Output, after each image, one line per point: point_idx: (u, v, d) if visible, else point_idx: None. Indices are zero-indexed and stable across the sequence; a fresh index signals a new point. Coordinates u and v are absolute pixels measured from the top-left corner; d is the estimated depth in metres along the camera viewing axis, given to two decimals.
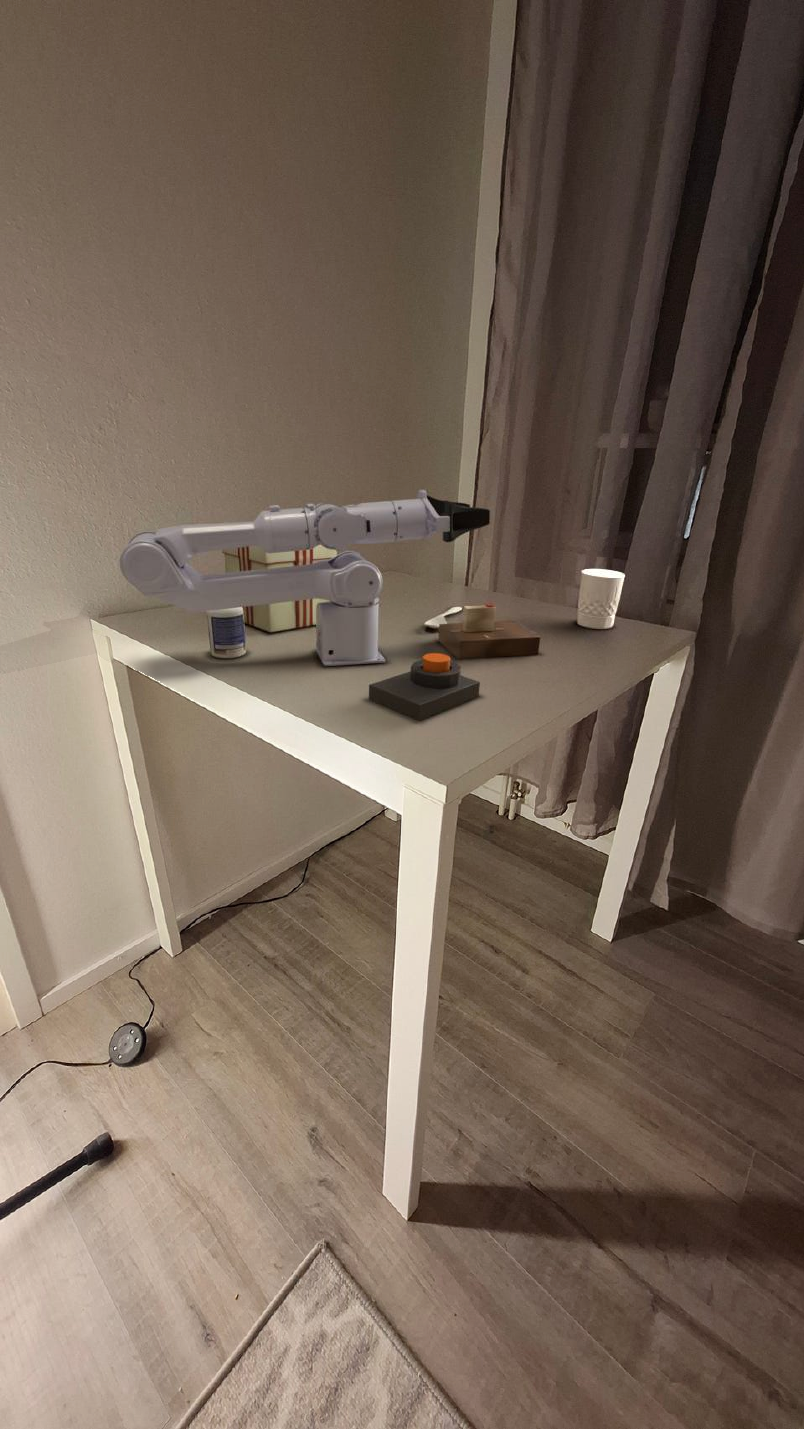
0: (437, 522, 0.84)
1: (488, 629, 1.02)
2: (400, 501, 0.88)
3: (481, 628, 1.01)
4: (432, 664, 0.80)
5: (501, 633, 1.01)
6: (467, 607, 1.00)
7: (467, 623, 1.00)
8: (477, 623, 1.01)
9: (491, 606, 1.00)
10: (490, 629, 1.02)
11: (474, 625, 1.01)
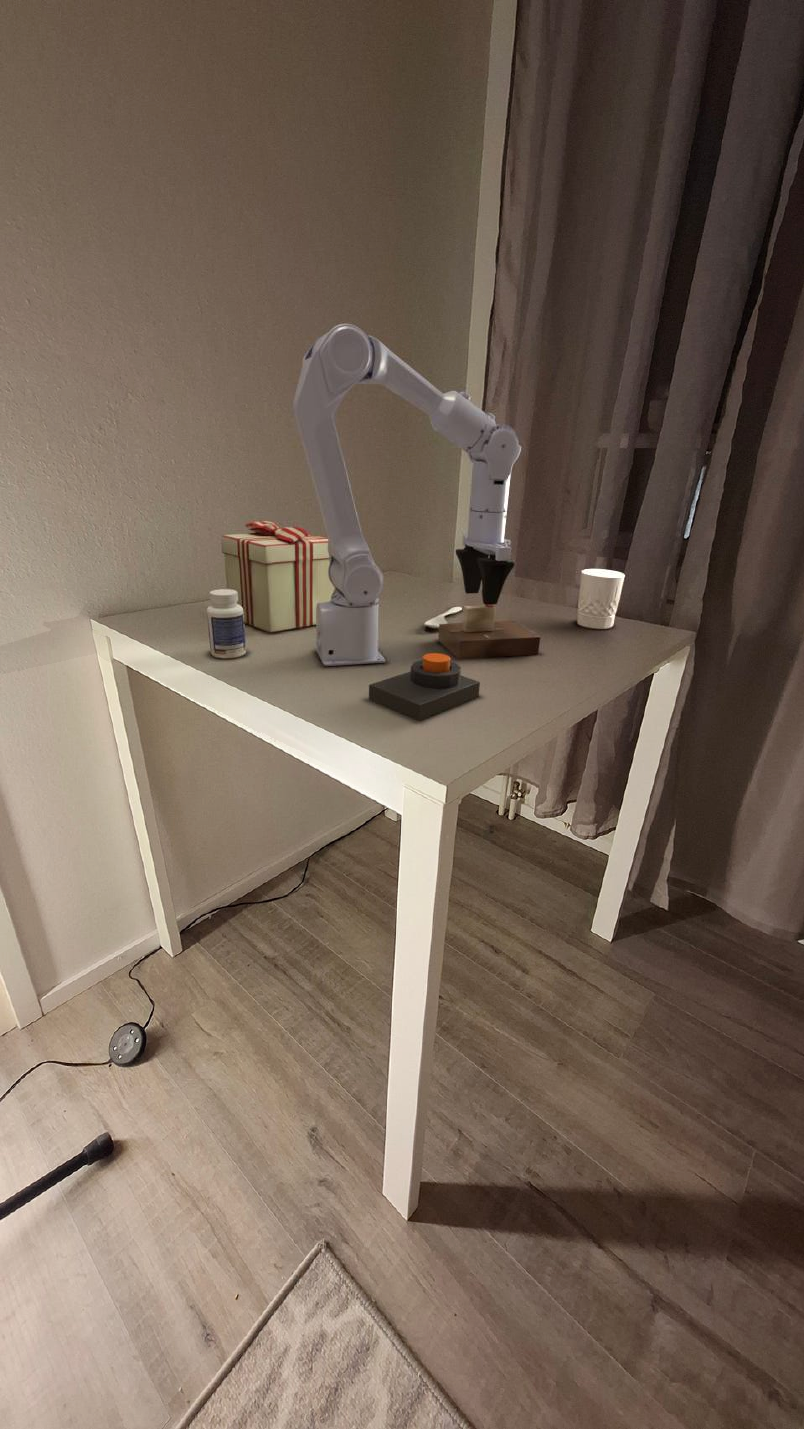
0: (507, 548, 0.90)
1: (488, 629, 1.02)
2: None
3: (481, 628, 1.01)
4: (432, 664, 0.80)
5: (501, 633, 1.01)
6: (467, 607, 1.00)
7: (467, 623, 1.00)
8: (477, 623, 1.01)
9: (491, 606, 1.00)
10: (490, 629, 1.02)
11: (474, 625, 1.01)
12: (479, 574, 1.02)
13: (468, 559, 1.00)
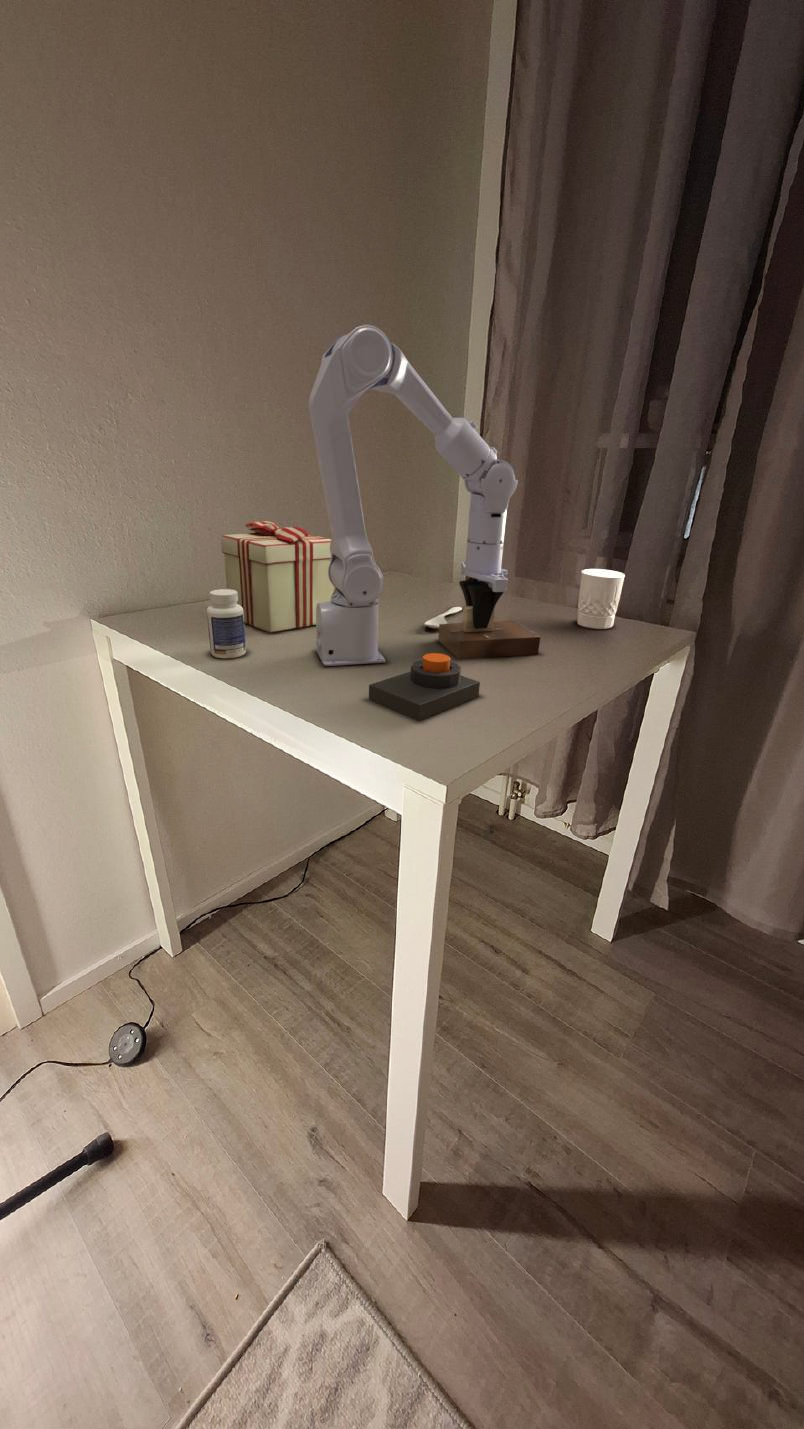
0: (503, 579, 0.92)
1: (488, 629, 1.02)
2: None
3: (481, 628, 1.01)
4: (432, 664, 0.80)
5: (501, 633, 1.01)
6: (467, 607, 1.00)
7: (467, 623, 1.00)
8: None
9: None
10: (490, 629, 1.02)
11: None
12: None
13: None
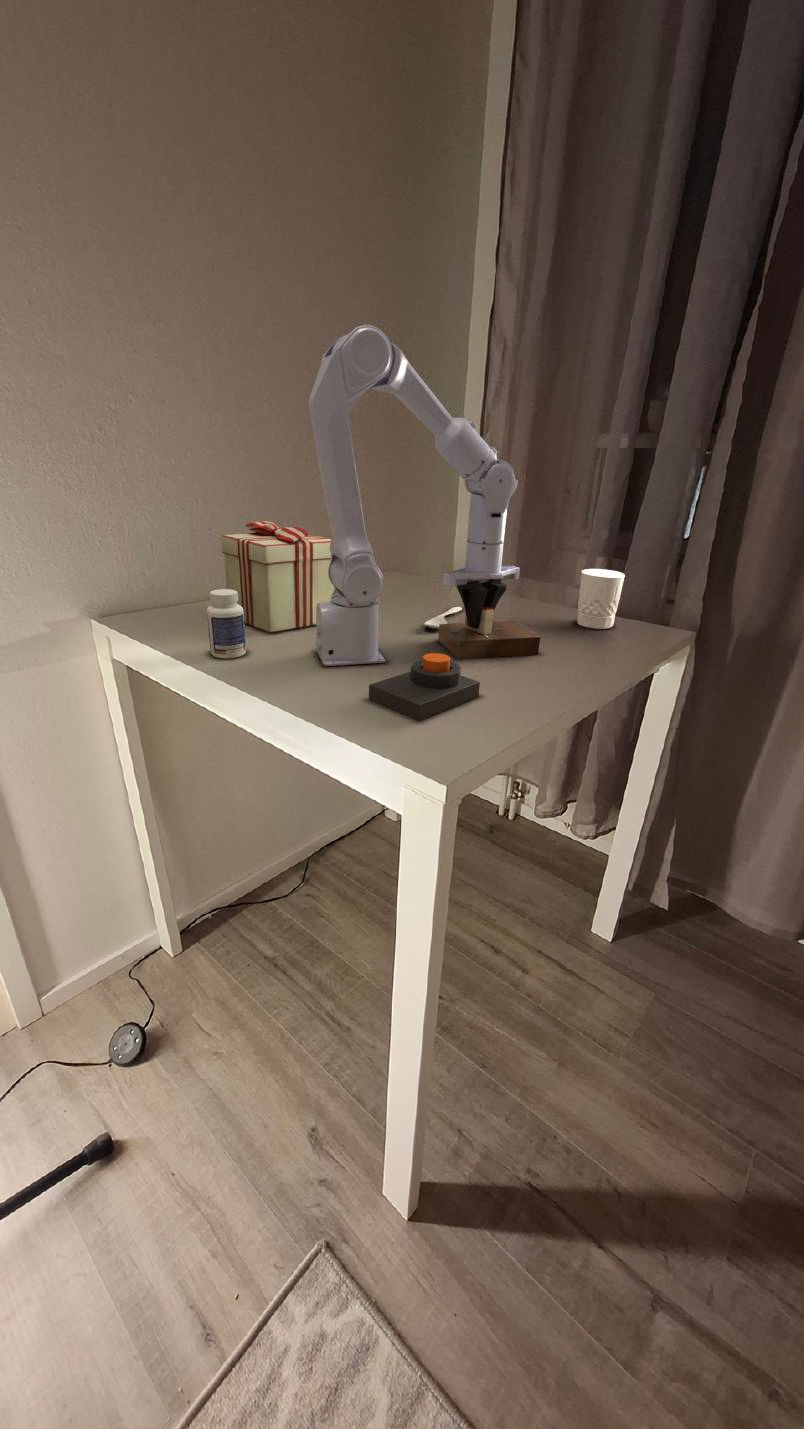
0: (448, 574, 0.94)
1: (480, 631, 1.00)
2: (493, 552, 0.94)
3: None
4: (432, 664, 0.80)
5: (501, 633, 1.01)
6: None
7: (466, 619, 1.03)
8: None
9: (484, 608, 0.99)
10: (482, 632, 1.00)
11: None
12: None
13: None
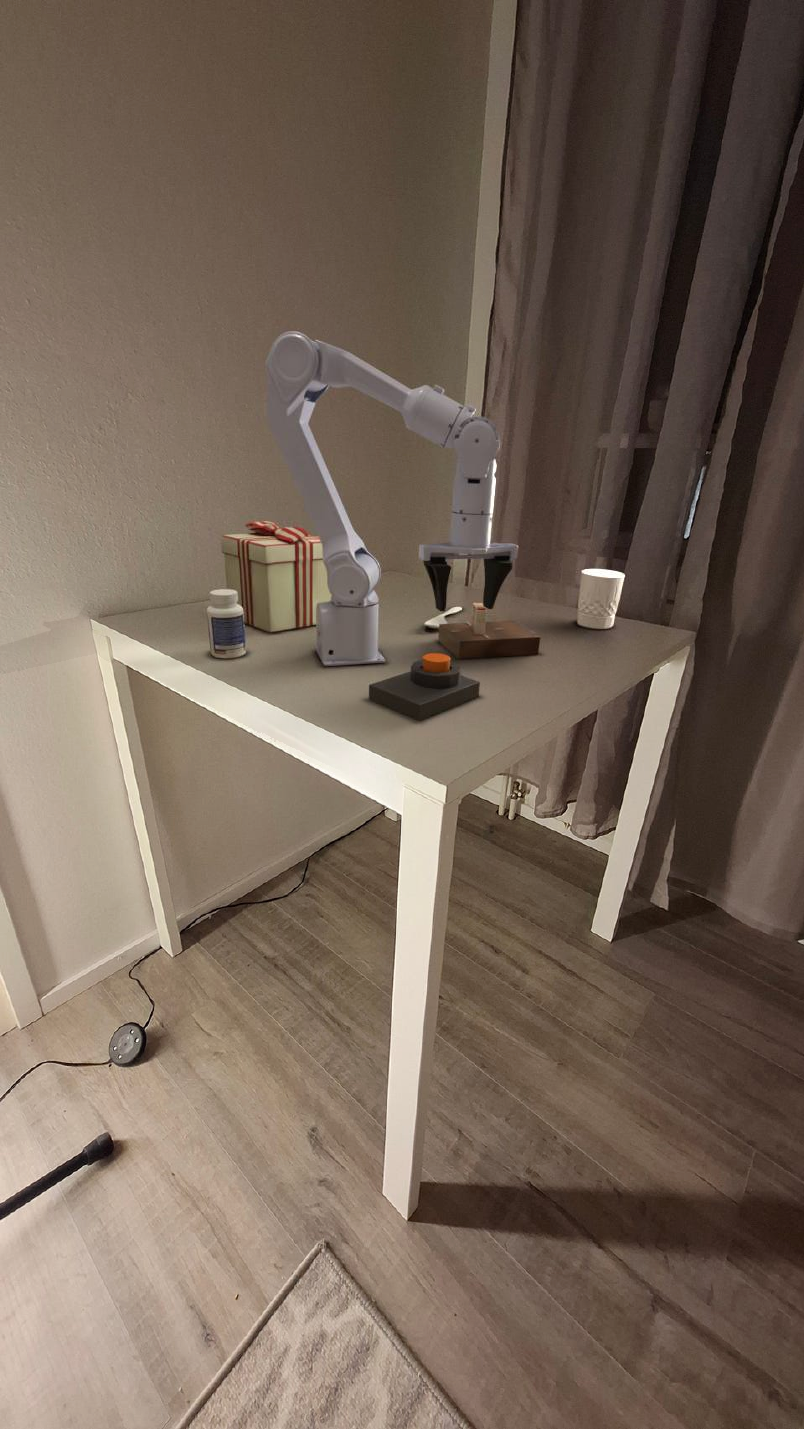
0: (422, 546, 0.85)
1: (474, 630, 1.00)
2: (475, 524, 0.83)
3: (473, 627, 1.01)
4: (432, 664, 0.80)
5: (501, 633, 1.01)
6: (477, 603, 1.02)
7: None
8: (473, 621, 1.02)
9: None
10: (474, 631, 1.00)
11: (472, 622, 1.02)
12: (492, 588, 0.90)
13: (487, 568, 0.91)
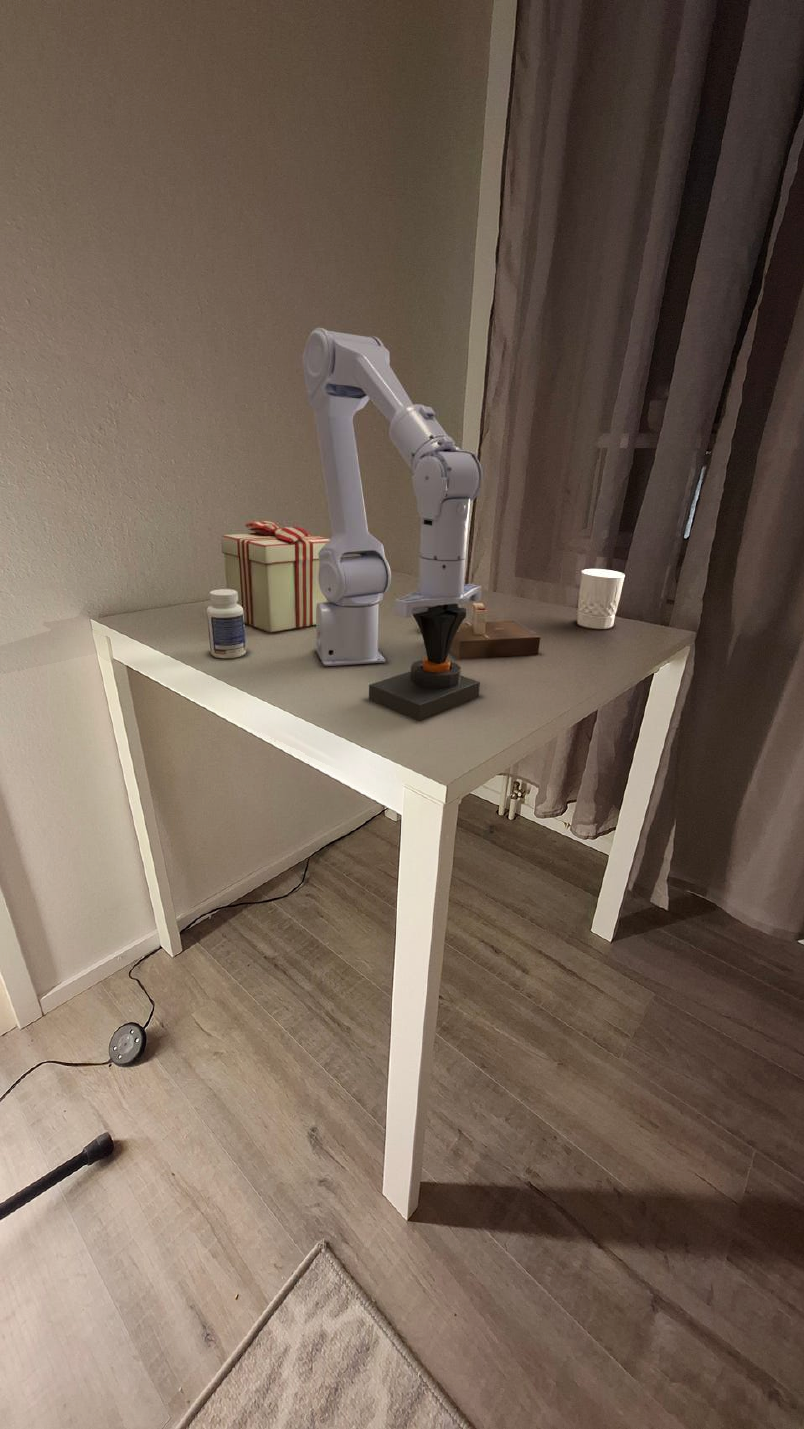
0: (403, 602, 0.73)
1: (474, 630, 1.00)
2: (456, 571, 0.74)
3: (473, 627, 1.01)
4: (432, 668, 0.80)
5: (501, 633, 1.01)
6: (477, 603, 1.02)
7: None
8: (473, 621, 1.02)
9: None
10: (474, 631, 1.00)
11: (472, 622, 1.02)
12: None
13: None
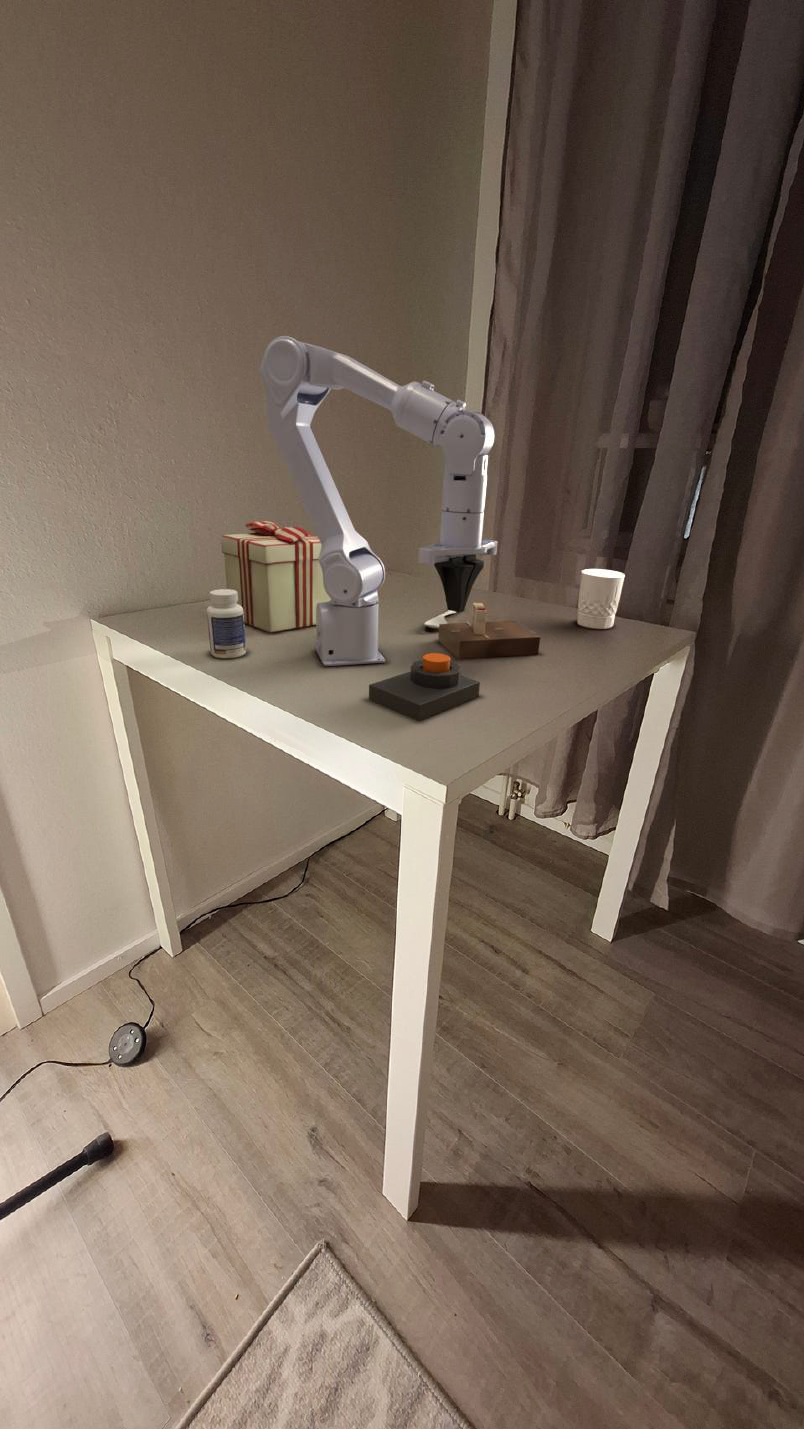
0: (426, 550, 0.79)
1: (474, 630, 1.00)
2: (475, 523, 0.81)
3: (473, 627, 1.01)
4: (432, 664, 0.80)
5: (501, 633, 1.01)
6: (477, 603, 1.02)
7: None
8: (473, 621, 1.02)
9: None
10: (474, 631, 1.00)
11: (472, 622, 1.02)
12: None
13: None
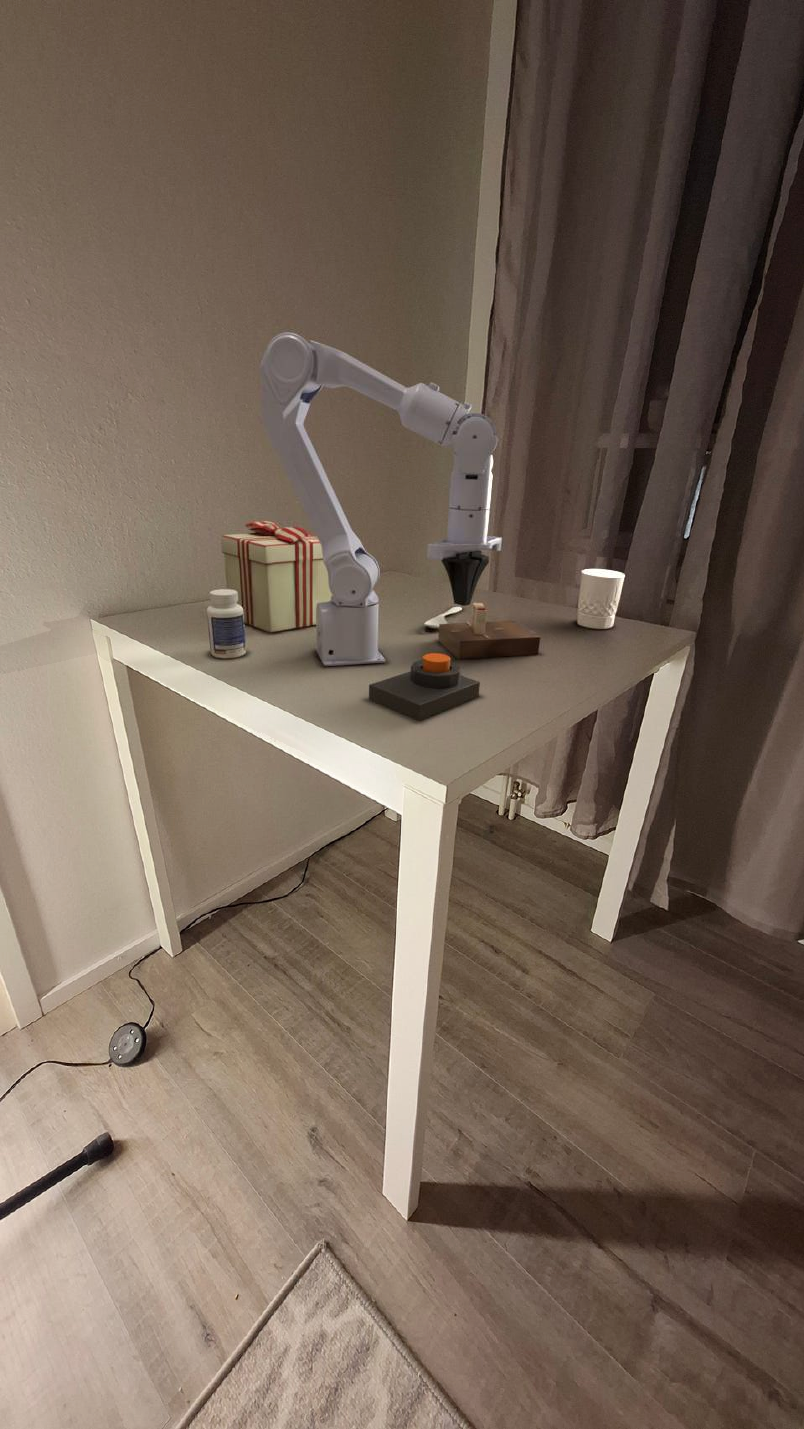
0: (435, 546, 0.83)
1: (474, 630, 1.00)
2: (481, 520, 0.84)
3: (473, 627, 1.01)
4: (432, 664, 0.80)
5: (501, 633, 1.01)
6: (477, 603, 1.02)
7: None
8: (473, 621, 1.02)
9: None
10: (474, 631, 1.00)
11: (472, 622, 1.02)
12: None
13: None
